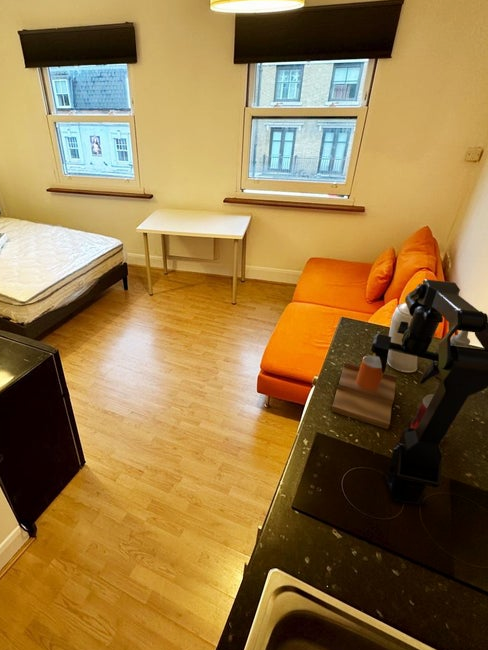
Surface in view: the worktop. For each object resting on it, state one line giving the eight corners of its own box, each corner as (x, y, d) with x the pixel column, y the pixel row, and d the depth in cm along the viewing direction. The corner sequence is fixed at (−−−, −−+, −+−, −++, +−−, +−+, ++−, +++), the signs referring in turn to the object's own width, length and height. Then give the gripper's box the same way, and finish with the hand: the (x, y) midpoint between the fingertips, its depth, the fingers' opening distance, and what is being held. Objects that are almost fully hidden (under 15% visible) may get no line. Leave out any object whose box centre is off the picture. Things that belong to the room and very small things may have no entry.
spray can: (397, 377, 120) (424, 310, 106) (371, 359, 128) (393, 294, 114) (422, 368, 124) (452, 301, 110) (396, 350, 132) (420, 287, 118)
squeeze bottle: (458, 373, 122) (482, 326, 112) (457, 387, 116) (483, 339, 106) (430, 364, 125) (451, 318, 115) (428, 378, 120) (450, 331, 110)
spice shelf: (387, 429, 102) (393, 415, 99) (330, 410, 108) (335, 396, 105) (392, 389, 115) (397, 375, 112) (341, 375, 121) (345, 361, 118)
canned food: (447, 447, 97) (464, 417, 91) (414, 443, 98) (429, 413, 92) (437, 425, 103) (453, 396, 97) (406, 421, 104) (419, 392, 98)
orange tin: (381, 391, 109) (389, 369, 104) (358, 388, 110) (365, 367, 105) (376, 377, 114) (383, 356, 110) (354, 374, 115) (360, 353, 111)
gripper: (464, 322, 94) (440, 370, 103) (383, 305, 101) (367, 351, 110) (467, 345, 86) (442, 395, 94) (379, 325, 93) (363, 373, 102)
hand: (401, 377), depth 100 cm, fingers open, 9 cm apart
